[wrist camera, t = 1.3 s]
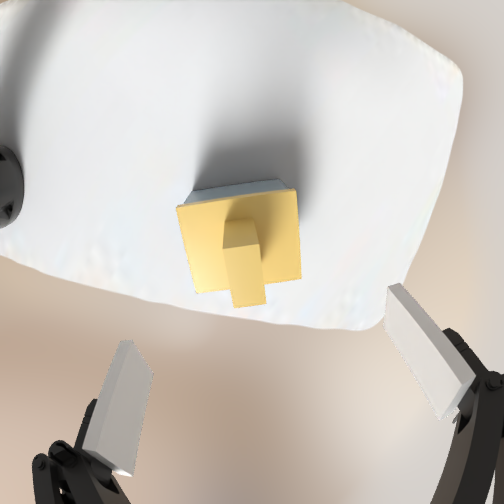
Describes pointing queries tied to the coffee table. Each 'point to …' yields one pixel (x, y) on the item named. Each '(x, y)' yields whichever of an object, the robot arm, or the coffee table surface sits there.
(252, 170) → the coffee table surface
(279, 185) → the box
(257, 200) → the lid
